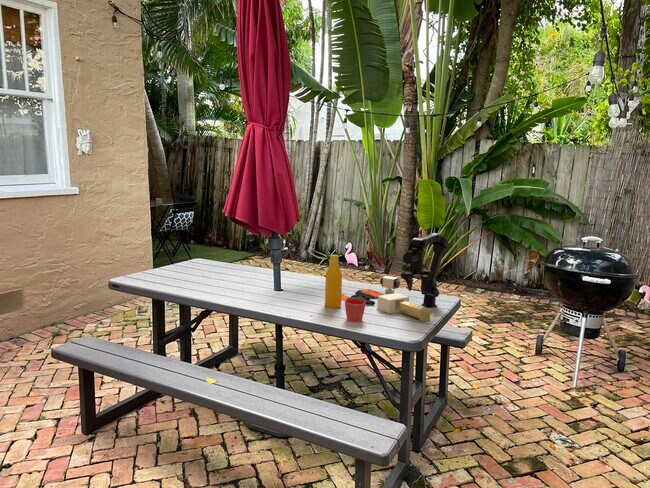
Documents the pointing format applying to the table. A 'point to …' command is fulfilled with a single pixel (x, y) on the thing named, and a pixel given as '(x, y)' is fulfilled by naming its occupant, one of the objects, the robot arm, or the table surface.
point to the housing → (391, 302)
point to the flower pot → (354, 309)
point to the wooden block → (415, 311)
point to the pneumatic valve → (389, 284)
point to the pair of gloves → (364, 296)
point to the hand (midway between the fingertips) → (416, 289)
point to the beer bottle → (333, 283)
